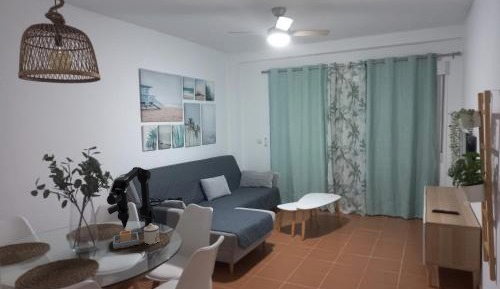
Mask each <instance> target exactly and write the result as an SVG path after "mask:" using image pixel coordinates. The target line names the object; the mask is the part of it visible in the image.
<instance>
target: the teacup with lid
mask: <svg viewBox="0 0 500 289" xmlns="http://www.w3.org/2000/svg"><path fill="white" fill-rule="evenodd" d="M159 229H160V227H159V226H158V225H156V224H154V225H153V224H152V223H150V224H149V225H148V226H147V227H144V228H143V229H142V230H143V239H144V241H143V242H144V244H145V243H148V244H152V243H157V242H159V243H160V230H159ZM157 244H158V243H157Z"/></svg>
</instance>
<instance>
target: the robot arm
mask: <svg viewBox="0 0 500 289" xmlns="http://www.w3.org/2000/svg"><path fill="white" fill-rule="evenodd" d="M136 177H137V180H138V182H139V184H140V194H141V206H140V207H139V209H138V210H139V215H140V218H141V219H142V220H143V219H144V225H143V227H144V228H145V227H147V226H148V225H149V224H150V223H152V224H153V225H155V224H154V220H155V219H156V218H157V213H156V211H154V207H153V206H152V204H151V203H150V202H151V200H150V189H149V181H151V171H150V170H149V169H145V168H142V167H140V166H134V167H132V169H131V170H130V171H128V172H127V173H126V174H124V176H121V177H119V178H116V179H115V180H114V181H113V183H112V187H111V190H110V193H109V195H108V196H107V197H106V203H107V204H108V205H110V206H109V207H107V210H106V211H107V212H108V214H109V215H112V214H113V213H116V212H117V219H118V220H119V221H120V222H121V224H122V226H123V228H124V229H125V228H126V227H127V225H128V224H127V223H128V222H129V219H130V211H129V210H130V209H129V201H128V193H127V192H128V191H129V189H128V187H129V186H130V182H131V181H133V180H134V179H135V178H136Z"/></svg>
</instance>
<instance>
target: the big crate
mask: <svg viewBox="0 0 500 289" xmlns="http://www.w3.org/2000/svg"><path fill="white" fill-rule="evenodd" d="M136 236H137V240H132V241H126V242H120V243H115V240H118V239H120V234H116V235H113V239H112V240H113V241H112V246H113V248H116V247H120V246H125V245H133V244H138V243H139V244H140V242H139V240H140V239H139V233H138V231H136V232H131V237H136Z"/></svg>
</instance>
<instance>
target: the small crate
mask: <svg viewBox="0 0 500 289" xmlns="http://www.w3.org/2000/svg"><path fill="white" fill-rule="evenodd" d="M131 233H132V232H131V229H128V230H123V231H122V230H121V231H119V235H120V240H121V242H126V241H131Z"/></svg>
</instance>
